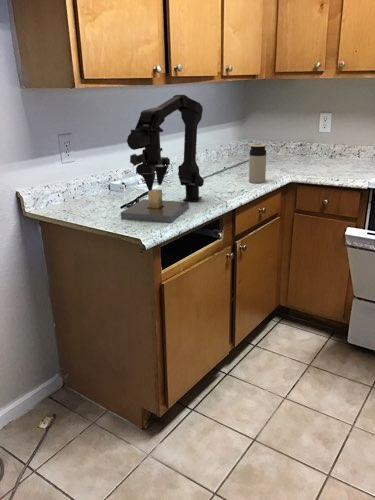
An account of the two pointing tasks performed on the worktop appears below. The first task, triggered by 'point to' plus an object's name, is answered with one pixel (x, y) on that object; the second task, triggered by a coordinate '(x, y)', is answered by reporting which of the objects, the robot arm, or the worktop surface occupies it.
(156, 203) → the brass peg
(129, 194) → the worktop surface
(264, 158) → the travel mug
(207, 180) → the worktop surface
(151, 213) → the post plate
